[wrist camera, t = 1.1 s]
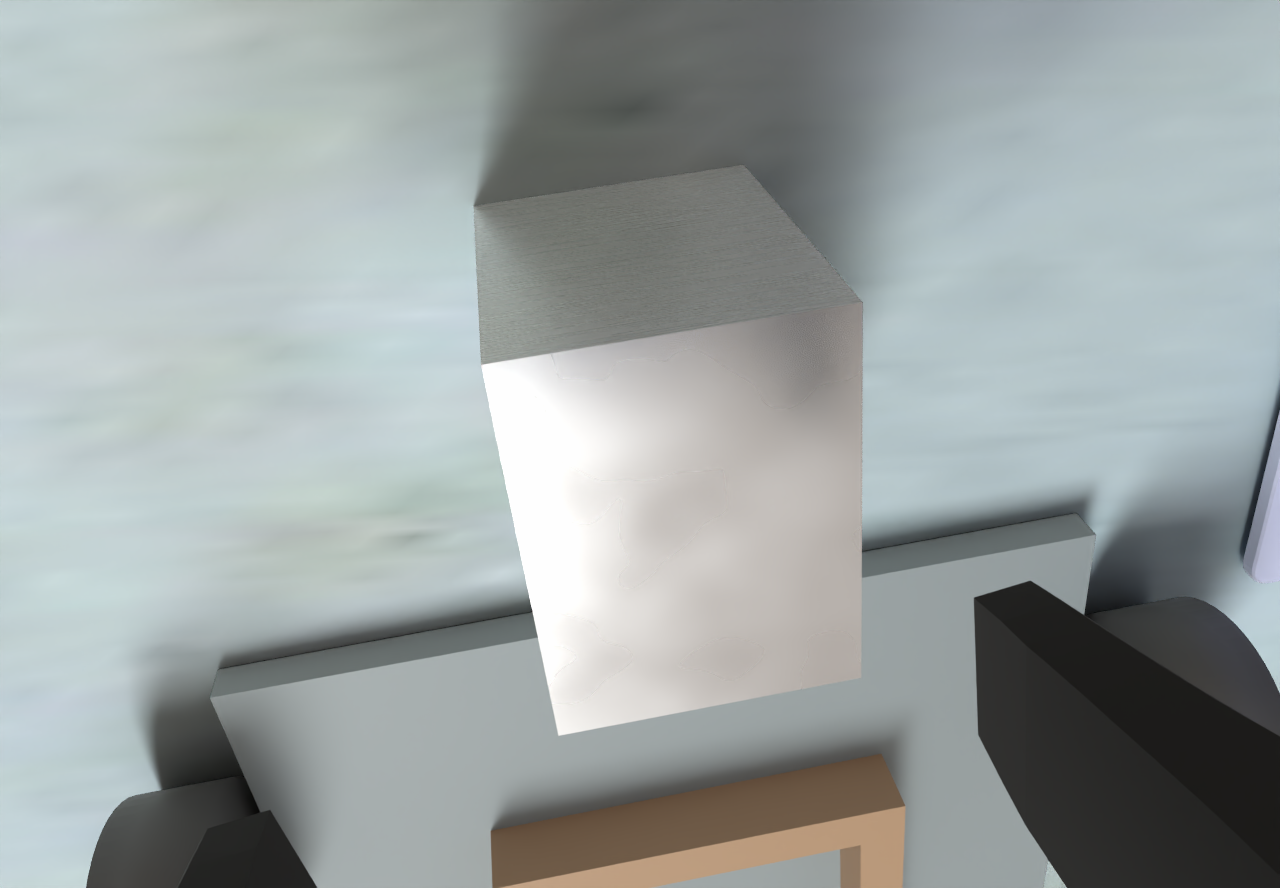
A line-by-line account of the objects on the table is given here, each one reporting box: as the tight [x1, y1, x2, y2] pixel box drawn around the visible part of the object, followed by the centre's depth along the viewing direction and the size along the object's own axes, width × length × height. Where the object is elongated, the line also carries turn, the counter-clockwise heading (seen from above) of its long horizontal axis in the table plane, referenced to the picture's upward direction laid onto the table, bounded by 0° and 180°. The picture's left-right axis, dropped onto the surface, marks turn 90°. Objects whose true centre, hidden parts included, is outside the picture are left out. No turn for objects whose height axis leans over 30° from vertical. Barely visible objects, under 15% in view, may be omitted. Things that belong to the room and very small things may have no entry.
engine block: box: [474, 165, 863, 736], centre depth 16 cm, size 4×6×6 cm
